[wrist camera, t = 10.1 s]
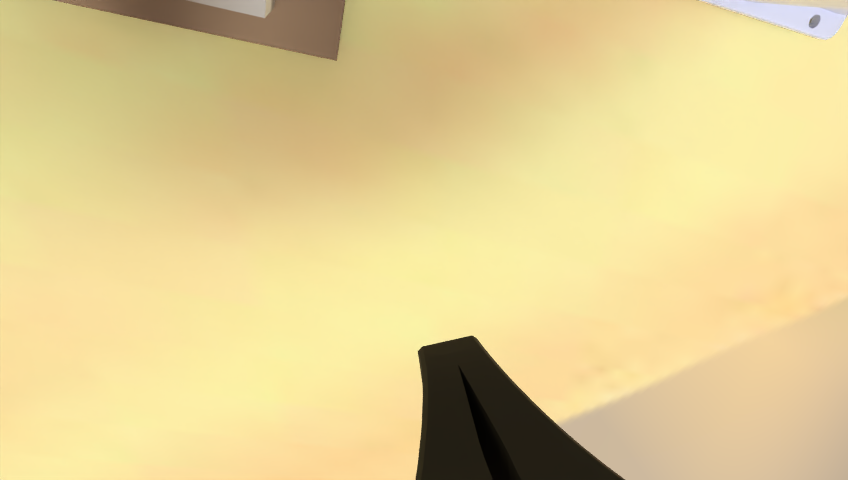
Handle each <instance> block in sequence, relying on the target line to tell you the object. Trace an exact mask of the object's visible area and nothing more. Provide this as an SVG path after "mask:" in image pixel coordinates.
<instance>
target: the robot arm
mask: <svg viewBox="0 0 848 480" xmlns="http://www.w3.org/2000/svg"><path fill="white" fill-rule="evenodd" d="M698 1H702V2H705V3H708V4H711V5H714V6H717V7H720V8H723V9H726V10H730V11H733V12H736V13H739V14H742V15H745V16H748V17H751V18H754V19H757V20H761V21H764V22H767V23H770V24H773V25H776V26H779V27H782V28H785V29H789V30H792V31H795V32H798V33H801V34H804V35H807V36H810V37H813V38H816V39H825V40H827V39H829V38H831V37H832V36H834V35H835V34H836V33H837V31H838V30H839V28H840V27H841V25H842V23H843V22H844V20H845V18H846V17H847V15H848V0H698ZM811 18H812V20H811V22H810V23H809V21H810V19H811ZM418 355H419V362H420V369H421V376H422V383H423V409H422V430H421V440H420V449H419V458H418V467H417V474H416V480H625V479H623V478H622V477H621V476H619V475H618V474H617V473H615V472H614V471H613V470H611V469H610V468H609V467H607V466H606V465H605V464H603V463H602V462H601V461H600V460H598V459H597V458H596V457H595V456H593V455H592V454H591V453H590V452H588V451H587V450H586V449H585V448H583V447H582V446H581V445H580V444H579V443H577V442H576V441H575V440H574V439H573V438H572V437H571V436H569V435H568V434H567V433H566V432H565V431H564V430H563V429H561V428H560V427H559V426H558V425H557V424H556V423H555V422H554V421H553V420H552V419H550V418H549V417H548V416H547V415H546V414H545V413H544V412H543V411H542V410H541V409H540V408H539V407H538V406H537V405H536V404H535V403H534V402H533V401H532V400H531V399H530V398H529V397H528V396H527V395H526V394H525V393H524V392H523V391H522V390H521V389H520V388H519V387H518V386H517V385H516V384H515V383H514V382H513V381H512V380H511V379H510V378H509V376H508V375H507V374H506V373H505V372H504V371H503V370H502V369H501V368H500V366H499V365H498V364H497V363H496V362H495V361H494V359H493V358H492V357H491V356H490V355H489V353H488V352H487V351H486V350H485V349H484V347H483V346H482V345H481V343H480V342H479V341H478V339H477V338H475V337H474V336H468V337H463V338H459V339H454V340H450V341H445V342H441V343H437V344H432V345H428V346H423V347H421V349H420V350H419V351H418Z"/></svg>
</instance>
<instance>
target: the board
mask: <svg viewBox="0 0 848 480" xmlns="http://www.w3.org/2000/svg"><path fill="white" fill-rule="evenodd" d="M54 1H59V2H64V3H69V4H73V5H78V6H83V7H87V8H92V9H97V10H101V11H106V12H111V13H116V14H120V15H125V16H130V17H134V18H139V19H144V20H148V21H153V22H158V23H162V24H167V25H172V26H177V27H181V28H186V29H191V30H195V31H200V32H205V33H209V34H214V35H219V36H224V37H228V38H233V39H238V40H242V41H247V42H252V43H256V44H261V45H266V46H270V47H275V48H280V49H285V50H289V51H294V52H299V53H303V54H308V55H313V56H317V57H322V58H327V59H332V60H336V61H337V55H338V47H339V40H340V33H341V26H342V19H343V12H344V5H345V0H54Z"/></svg>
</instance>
